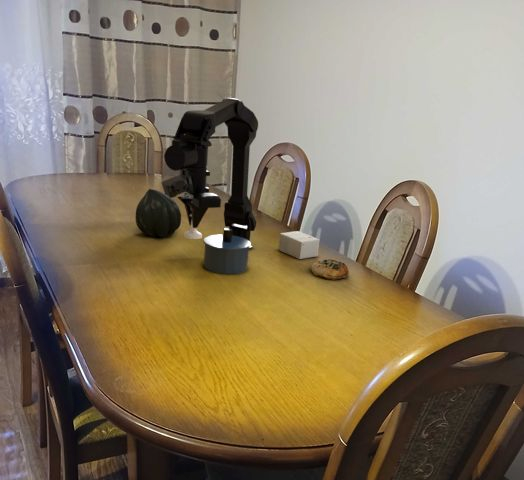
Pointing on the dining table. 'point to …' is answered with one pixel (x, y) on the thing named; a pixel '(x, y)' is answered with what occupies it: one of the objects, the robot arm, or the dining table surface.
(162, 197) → the squash
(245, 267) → the pot
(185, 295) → the dining table surface
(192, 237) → the chess piece
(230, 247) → the pot lid
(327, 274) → the bread roll
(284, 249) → the small box
